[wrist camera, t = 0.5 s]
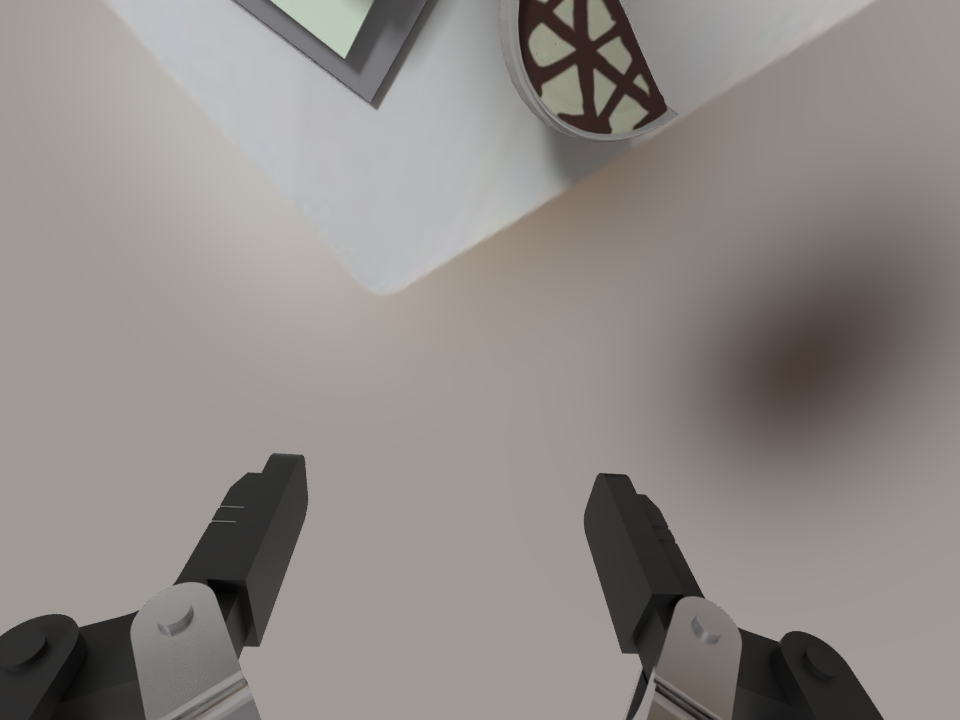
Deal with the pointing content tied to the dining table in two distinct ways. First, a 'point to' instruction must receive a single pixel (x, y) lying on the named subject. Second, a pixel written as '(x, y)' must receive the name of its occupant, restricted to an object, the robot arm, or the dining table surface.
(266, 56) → the dining table surface
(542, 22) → the food container
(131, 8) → the dining table surface
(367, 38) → the mat
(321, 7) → the lid
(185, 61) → the dining table surface
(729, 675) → the robot arm
